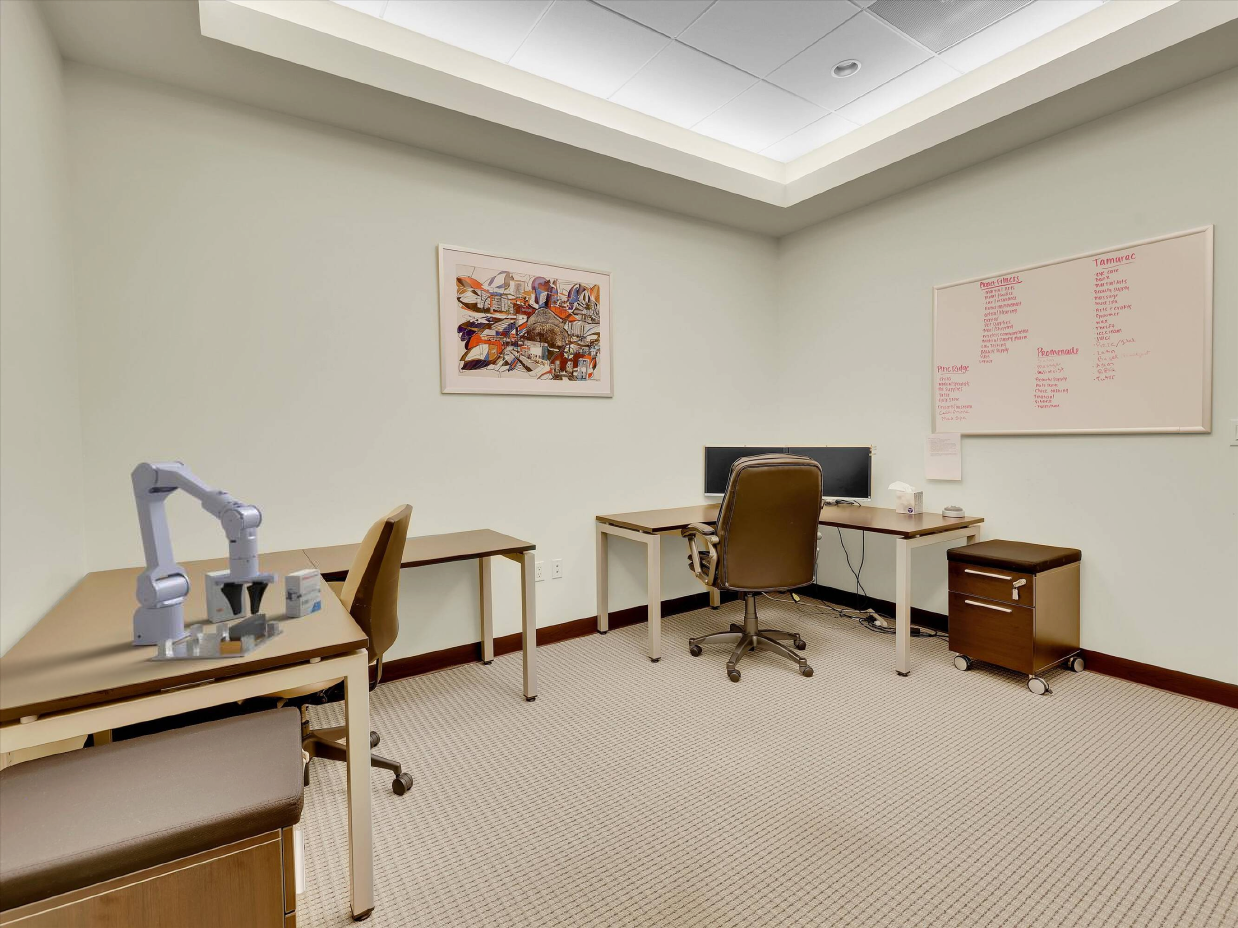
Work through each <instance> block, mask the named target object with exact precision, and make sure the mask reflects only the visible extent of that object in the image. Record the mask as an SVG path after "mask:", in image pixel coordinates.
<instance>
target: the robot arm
mask: <svg viewBox="0 0 1238 928" xmlns="http://www.w3.org/2000/svg"><path fill="white" fill-rule="evenodd" d="M130 477H131V482H132V490H133V495H134V499H135V504H136V510H137V516H138V523H139V529H140V535H141V540H142V541H141V542H142V546H143V553H144V557H145V564H146V568H145V569H144V570H143V571H142V572H140V574H139V575H138V576H137V577H136V579H135V580H136V589H135V598H136V600H137V602H138V603H139V604H140V606H139V607H138V608H137V609H135V612H134V613H133V617H132V628H133V642H132V643H131V646H147V645H149V646H151V645H153V646H154V645H157V642H158V641H160V640H162V639H171V638H172V644H175V643H176V642H179V641H180V640H182V639H185V638H187V637H190V631H185V620H184V618H185V617H184V603H183V602H185V601H186V597H187V596H188V595H189V594H190V592H191V581H190V579H189V578H188V576H187V573H186V569H185V568H184V567H183V566H181V565H179V564H178V563H176V562H175V559H174V553H173V548H172V542H171V535H170V528H169V524H168V517H167V512H166V506H165V500H166V499H167V498H168V496H170V495H171V494H174V492H176V491H177V490H179V489H180V490H182V491H184V492H185V493H187V494H188V495H190V496H192V497H194V498H196V499H197V500H198V501H201V507H202V509H203V510H205V511H206V512H208V513H209V514H211V515H212V516H214V517H215V518H216V519H218V520H219V521H220V524H221V527H222V529H223V530H224V532H225V537H226V540H227V542H228V558H229V559H228V560H229V570H230V575H222V576H214V577H211V578H210V580H211V586H215V585H224V586H223V587H222V588H221V592H222V593H223V594H224V596H225V597H226V598H227V600H228V602H229V604H230V606H231V609H232V612H233V615H238V614H240V613H241V611H242V603H241V596H242V588H243V584H245V585H247V584H248V585H247V586H246V591H247V593H248V594H247V595H248V598H249V605H250V606H249V608H250V615H251V616H252V615H254V614H259V612H260V607H261V603H262V599H263V597H264V594H265V592H266V590H267V588H268V586H269V584H276V583H278V582H279V573H266V572H264V573H263V572H259V558H258V557H259V556H258V555H259V554H258V552H259V551H258V534H257V533H258V532H257V531H258V529H257V528H259V527H260V526H261V524H262V523H263V514H262V512H261V510H260V509H259V508H258V507H257V506H256V505H253V504H249V505H248V504H247V505H246V504H243V502H242V501H241V500H238V499H236V498H235V497H234V496H232V495H230V494H229V491H228V490H226V489H220V488H217V489H212V487H210V486H209V485H208V484H207V483H206V482H204V481H203V480H201V479H200V478H199V477H198V476H197V475H196V474H194V473H193V471H192V468H191V466H188V465H186V463H185V462H183V461H180V460H179V461H165V462H163V461H162V462H147V461H146V462H144V461H143V462H140V463H139V464H137V465H136V467H135V468H134V469H133V471H132V472H131V473H130Z"/></svg>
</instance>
